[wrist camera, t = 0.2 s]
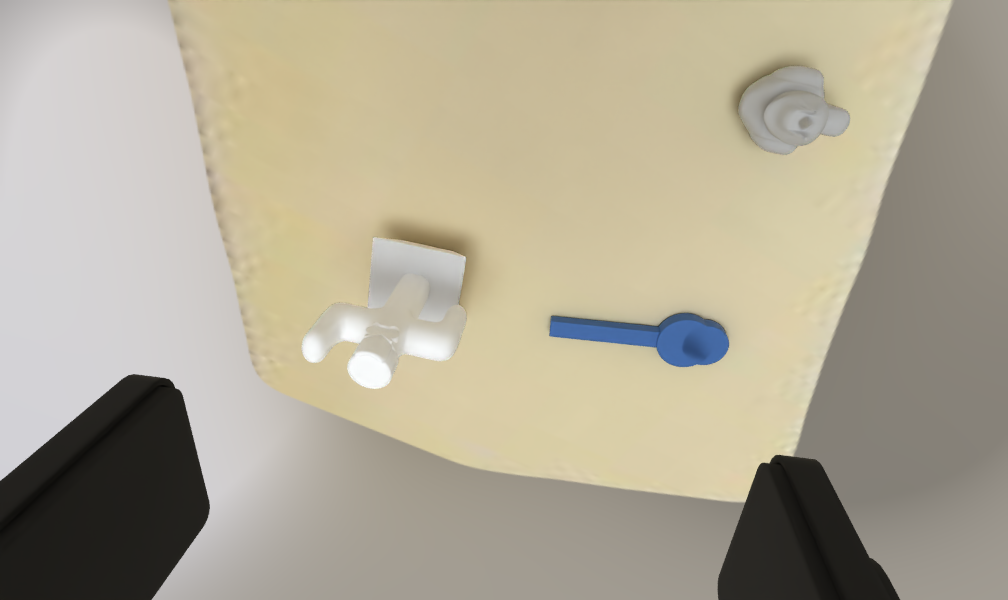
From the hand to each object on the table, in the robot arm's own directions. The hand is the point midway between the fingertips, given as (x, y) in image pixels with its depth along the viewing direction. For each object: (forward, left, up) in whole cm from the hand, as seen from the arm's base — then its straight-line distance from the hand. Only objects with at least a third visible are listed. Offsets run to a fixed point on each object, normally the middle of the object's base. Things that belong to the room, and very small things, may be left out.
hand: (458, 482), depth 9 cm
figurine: (+14, -9, -36) cm, 40 cm away
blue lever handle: (+18, +9, -36) cm, 41 cm away
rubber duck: (-1, +16, -36) cm, 40 cm away
